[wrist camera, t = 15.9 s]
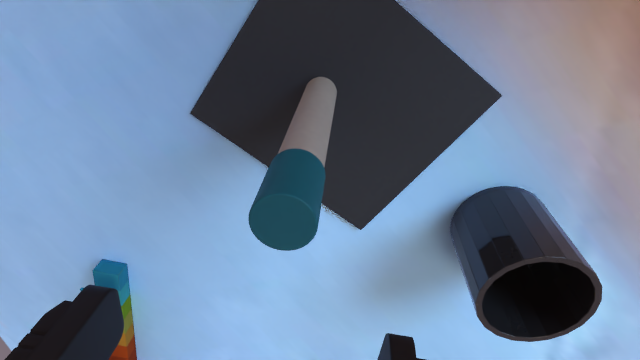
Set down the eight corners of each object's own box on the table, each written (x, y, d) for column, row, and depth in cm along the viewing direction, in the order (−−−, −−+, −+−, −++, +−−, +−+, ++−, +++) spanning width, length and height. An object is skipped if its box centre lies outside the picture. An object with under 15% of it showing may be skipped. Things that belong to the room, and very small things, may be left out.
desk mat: (191, 112, 35) (189, 113, 35) (306, -78, 28) (305, -78, 27) (360, 227, 40) (360, 230, 40) (500, 94, 32) (502, 95, 32)
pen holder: (431, 229, 39) (451, 305, 31) (502, 168, 36) (548, 236, 27) (492, 273, 42) (527, 356, 33) (566, 221, 38) (628, 299, 29)
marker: (296, 95, 33) (235, 227, 17) (317, 67, 32) (272, 180, 16) (324, 116, 34) (291, 262, 18) (345, 89, 33) (331, 220, 16)
